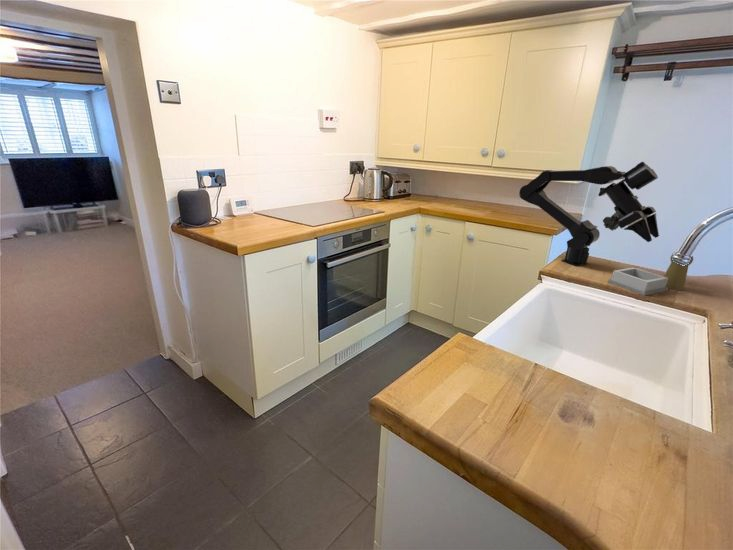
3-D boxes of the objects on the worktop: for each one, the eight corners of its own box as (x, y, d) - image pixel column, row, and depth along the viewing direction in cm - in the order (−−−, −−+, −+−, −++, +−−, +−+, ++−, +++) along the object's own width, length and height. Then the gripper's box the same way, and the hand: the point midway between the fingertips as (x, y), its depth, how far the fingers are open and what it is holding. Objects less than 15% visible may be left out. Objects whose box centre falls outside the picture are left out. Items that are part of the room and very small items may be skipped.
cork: (689, 290, 108) (702, 256, 104) (669, 290, 108) (681, 256, 104) (673, 283, 114) (685, 250, 110) (654, 282, 114) (665, 250, 110)
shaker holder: (607, 282, 113) (611, 270, 112) (630, 277, 117) (633, 266, 116) (644, 295, 104) (648, 282, 102) (666, 290, 108) (671, 278, 106)
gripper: (607, 210, 127) (634, 247, 123) (589, 216, 115) (618, 257, 112) (641, 191, 119) (671, 229, 115) (624, 195, 107) (657, 238, 103)
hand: (653, 239), depth 112 cm, fingers open, 9 cm apart
